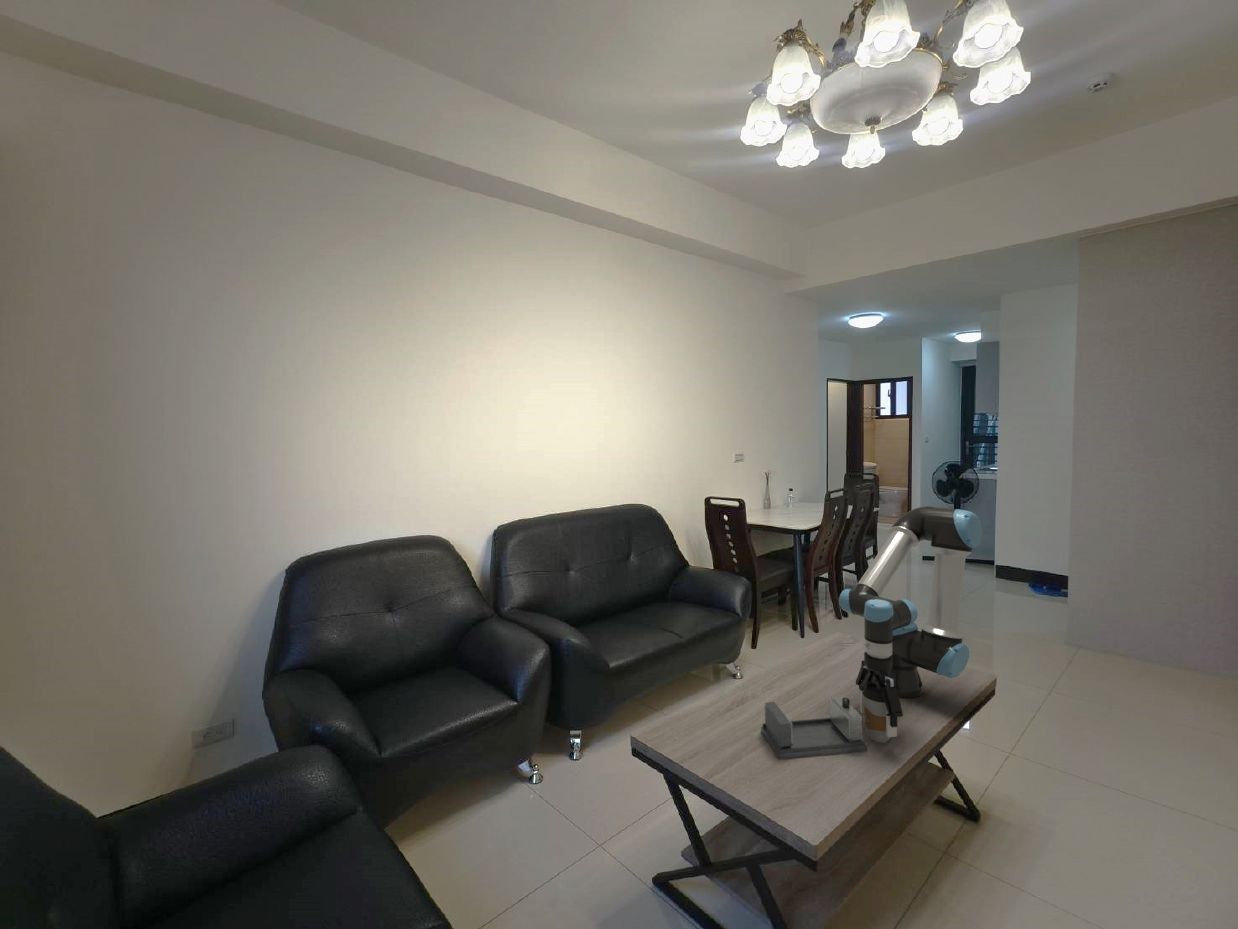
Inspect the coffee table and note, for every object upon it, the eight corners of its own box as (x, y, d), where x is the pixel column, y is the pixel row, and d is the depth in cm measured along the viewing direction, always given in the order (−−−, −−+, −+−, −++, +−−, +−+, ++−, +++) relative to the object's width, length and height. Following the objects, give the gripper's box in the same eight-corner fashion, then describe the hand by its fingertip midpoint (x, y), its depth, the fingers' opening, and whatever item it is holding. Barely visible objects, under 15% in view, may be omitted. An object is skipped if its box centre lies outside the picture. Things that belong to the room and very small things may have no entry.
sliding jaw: (840, 720, 166) (840, 689, 166) (861, 743, 154) (861, 709, 154) (829, 721, 166) (829, 690, 165) (849, 744, 154) (849, 710, 153)
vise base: (841, 724, 167) (841, 694, 167) (866, 750, 153) (866, 718, 153) (761, 731, 165) (760, 701, 164) (779, 759, 151) (778, 726, 150)
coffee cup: (857, 730, 164) (857, 682, 163) (883, 728, 165) (883, 680, 164) (872, 746, 156) (872, 696, 155) (899, 743, 156) (900, 693, 155)
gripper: (844, 638, 170) (844, 703, 172) (891, 673, 146) (891, 748, 147) (866, 636, 171) (866, 701, 173) (917, 671, 146) (916, 746, 148)
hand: (877, 723), depth 160 cm, fingers open, 13 cm apart
